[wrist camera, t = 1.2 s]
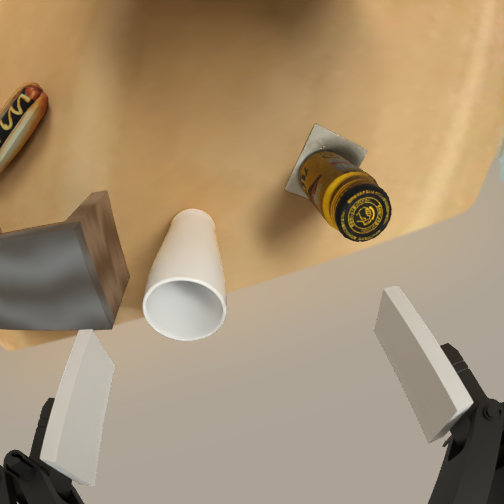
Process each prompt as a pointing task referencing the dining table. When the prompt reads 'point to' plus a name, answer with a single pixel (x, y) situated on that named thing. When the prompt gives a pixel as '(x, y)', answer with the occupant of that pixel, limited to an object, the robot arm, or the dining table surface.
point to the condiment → (340, 186)
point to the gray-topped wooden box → (64, 272)
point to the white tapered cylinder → (187, 280)
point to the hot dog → (20, 120)
